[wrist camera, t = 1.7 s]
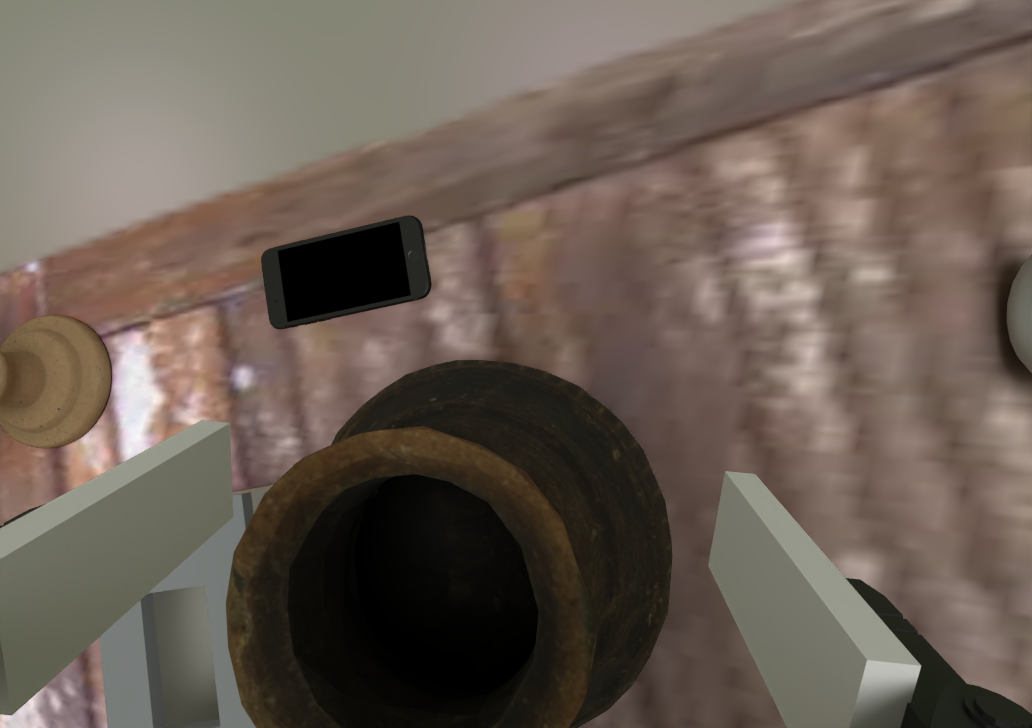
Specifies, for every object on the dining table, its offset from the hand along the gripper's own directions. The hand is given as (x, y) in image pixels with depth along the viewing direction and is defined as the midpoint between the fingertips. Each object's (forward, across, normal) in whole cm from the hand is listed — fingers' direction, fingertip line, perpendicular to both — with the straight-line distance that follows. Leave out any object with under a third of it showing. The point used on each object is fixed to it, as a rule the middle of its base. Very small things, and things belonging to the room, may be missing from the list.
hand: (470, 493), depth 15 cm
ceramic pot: (+27, 0, +16) cm, 31 cm away
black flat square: (+35, +16, -2) cm, 38 cm away
